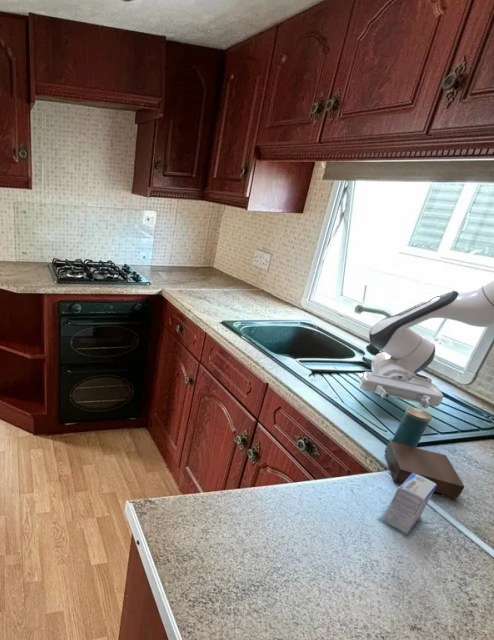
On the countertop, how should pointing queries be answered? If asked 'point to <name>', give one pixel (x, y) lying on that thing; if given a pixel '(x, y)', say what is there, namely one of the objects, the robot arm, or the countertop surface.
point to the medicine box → (409, 502)
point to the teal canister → (412, 427)
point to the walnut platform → (423, 468)
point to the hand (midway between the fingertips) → (405, 400)
